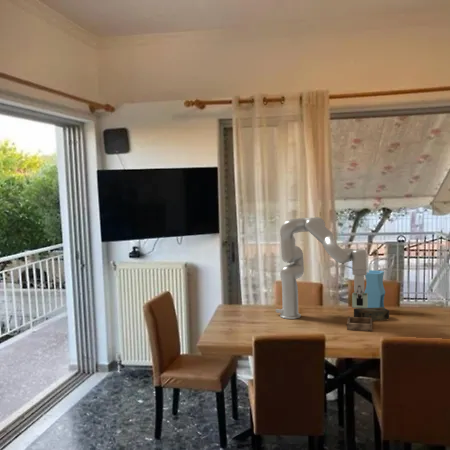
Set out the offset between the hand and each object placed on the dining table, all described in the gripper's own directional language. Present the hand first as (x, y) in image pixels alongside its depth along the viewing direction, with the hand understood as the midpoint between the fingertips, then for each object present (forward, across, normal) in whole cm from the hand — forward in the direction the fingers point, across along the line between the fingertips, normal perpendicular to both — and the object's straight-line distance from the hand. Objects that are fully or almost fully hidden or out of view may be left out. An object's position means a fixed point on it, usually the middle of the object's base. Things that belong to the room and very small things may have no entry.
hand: (360, 303), depth 250 cm
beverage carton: (+14, -18, +6) cm, 23 cm away
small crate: (+2, 0, 0) cm, 2 cm away
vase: (+13, -36, +8) cm, 39 cm away
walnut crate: (+13, 0, 0) cm, 13 cm away
